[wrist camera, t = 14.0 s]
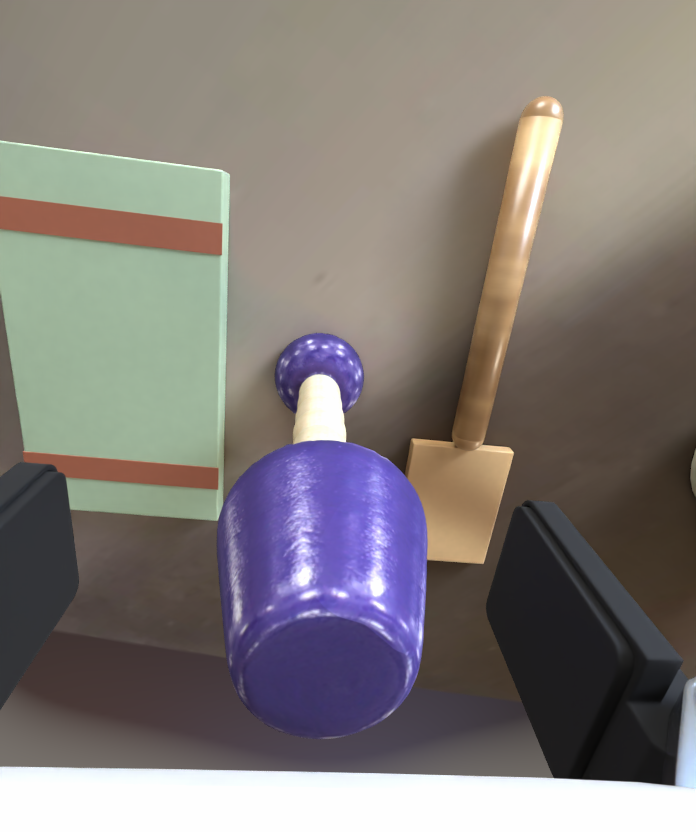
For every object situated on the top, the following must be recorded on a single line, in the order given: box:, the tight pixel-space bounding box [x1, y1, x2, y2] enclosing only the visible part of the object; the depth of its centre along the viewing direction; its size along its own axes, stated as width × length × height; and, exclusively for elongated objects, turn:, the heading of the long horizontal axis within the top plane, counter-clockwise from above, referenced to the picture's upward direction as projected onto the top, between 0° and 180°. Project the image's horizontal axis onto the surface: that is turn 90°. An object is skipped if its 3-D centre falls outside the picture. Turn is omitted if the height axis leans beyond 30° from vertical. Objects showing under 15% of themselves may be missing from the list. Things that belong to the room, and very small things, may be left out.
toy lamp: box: [217, 333, 428, 739], centre depth 15 cm, size 5×5×17 cm
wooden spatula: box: [405, 96, 563, 564], centre depth 22 cm, size 22×5×2 cm, turn 173°
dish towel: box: [0, 141, 230, 521], centre depth 21 cm, size 9×16×1 cm, turn 173°
